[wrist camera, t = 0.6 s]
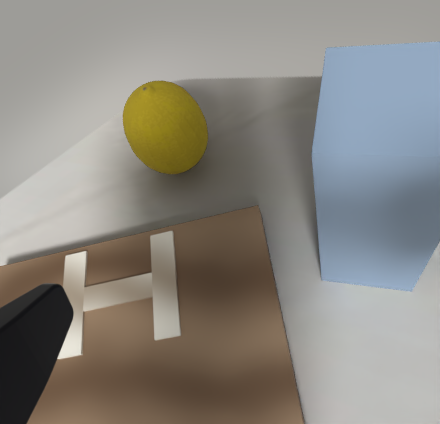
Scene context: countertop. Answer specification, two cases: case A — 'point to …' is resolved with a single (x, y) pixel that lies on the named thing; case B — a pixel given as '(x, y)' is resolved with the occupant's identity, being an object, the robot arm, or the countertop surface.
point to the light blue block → (378, 163)
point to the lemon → (165, 127)
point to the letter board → (168, 328)
